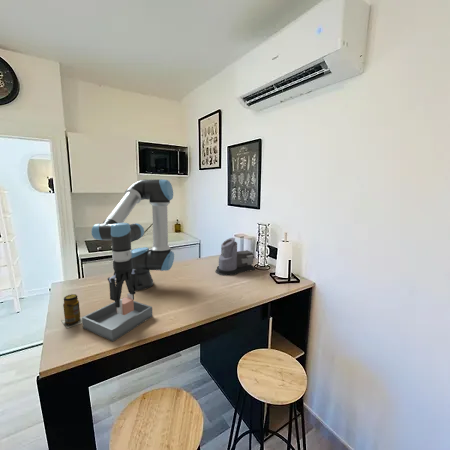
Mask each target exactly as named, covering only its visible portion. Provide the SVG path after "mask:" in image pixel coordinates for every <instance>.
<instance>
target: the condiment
mask: <svg viewBox="0 0 450 450" xmlns="http://www.w3.org/2000/svg"><path fill="white" fill-rule="evenodd" d="M62 308H63V314H64V320H61V323H62V324H63V325H64V327H65V328H66V329H69V328H73V327H75V326H79V325H80V324H83V323H82V317H81V309H80V300H79V299H78V295H77V294H73V293H71V294H68V295H67V294H66V295H65V296H64V297H63V306H62Z"/></svg>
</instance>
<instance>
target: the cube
mask: <svg viewBox="0 0 450 450" xmlns="http://www.w3.org/2000/svg"><path fill="white" fill-rule="evenodd" d="M122 298H123V299H122ZM122 298H121V299H122V309H123V315H126V314H128V313H130V312H131V311H133V310H134V302H133V301H134V300H133V299H130V298H127V296H125V297H122ZM116 309H117V307H116Z"/></svg>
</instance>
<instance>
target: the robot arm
mask: <svg viewBox="0 0 450 450" xmlns="http://www.w3.org/2000/svg"><path fill="white" fill-rule="evenodd" d="M123 195H124V196H122V197H121V200H120V201H119V202H118V203H117V204H116V206H115V207H114V208H113V209H112V210H111V211H110V213H109V214H108V216H107V217H106V218H105V220H103V222H102V223H95V224H93V226H92V227H91V236H92V237H93V239H94V240H98V241H111V251H112V255H111V256H112V267H113V275H112V276H111V277H108V278H107V281H108V283H109V284H108V285H109V300H111V301H113V302H115V306H116V307H117V313H118V314H121V315H122V314H123V309H122V298H121V296H122V290H123V285H124V284H125V285H126V288H127V291H128V293H127V295H126V297H127V298H130V299H133V301H135V295H136V292H138V291H143V290H146V289H148V288H149V289H150V288H151V287H153V285H154V280H153V277H152V274H151V272H150V271H161V272H164V271H165V272H167V271H170V270H171V269H172V267H173V264H174V261H175V253H174V251H173V250H172V249H171V246H169V234H168V233H169V228H168V227H169V225H168V222H169V221H168V206H169V205H170V203H171V201H172V200H173V198H174V190H173V184H172V183H171V182H170V180H168V179H161V178H160V179H141V180H137V181H135V182H134V183H132V184H131V185H129V187H127V189H126V190H125V191H124V194H123ZM143 200H149V204H150V205H151V208H152V209H151V211H152V247H150V249H149V247H138V248H137V247H136V248H134V249H132V243H133V242H136V241H138V240H140V239H141V238H143V236H144V234H145V229H144V227H143V226H142V224H140V223H131V224H130V223H127V222H125V221H126V220H127V218H128V217H129V216H130V214H131V212H132V210H133V209H134V208H135V206H136V205H137V204H139V203H140V202H141V201H143Z"/></svg>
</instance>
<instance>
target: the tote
mask: <svg viewBox="0 0 450 450" xmlns="http://www.w3.org/2000/svg"><path fill="white" fill-rule="evenodd" d="M123 298H124V297H122V298H121V299H123ZM133 302H134V310H133V311H131V312H130V313H128V314H126V315H123V314H122V315H121V314H118V313H117V309H116V306H115V301H113V302H112V303H109V304H107V305H106V306H105V305H104V306H103V307H101V308H99V309H96V310H94V311H92V312H90V313H87V314H86V315H84V316H82V317H81V318H82V323H81V324H82V328H83V329H84V330H86V331H89V332H91V333H94V334H95V335H98V336H100V337H101V338H104V339H106V340H108V341H110V342H115V341H116V340H117V339H119V338H122V336H124V335H126V334H128V333H129V332H130V331H132V330H134V329H135V328H137V327H138V326H141V325H142V324H143V323H145V322H147V321H148V320H149V319H152V317H153V306H151V305H147V304H145V303H142V302H138V301H135V300H133Z"/></svg>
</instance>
